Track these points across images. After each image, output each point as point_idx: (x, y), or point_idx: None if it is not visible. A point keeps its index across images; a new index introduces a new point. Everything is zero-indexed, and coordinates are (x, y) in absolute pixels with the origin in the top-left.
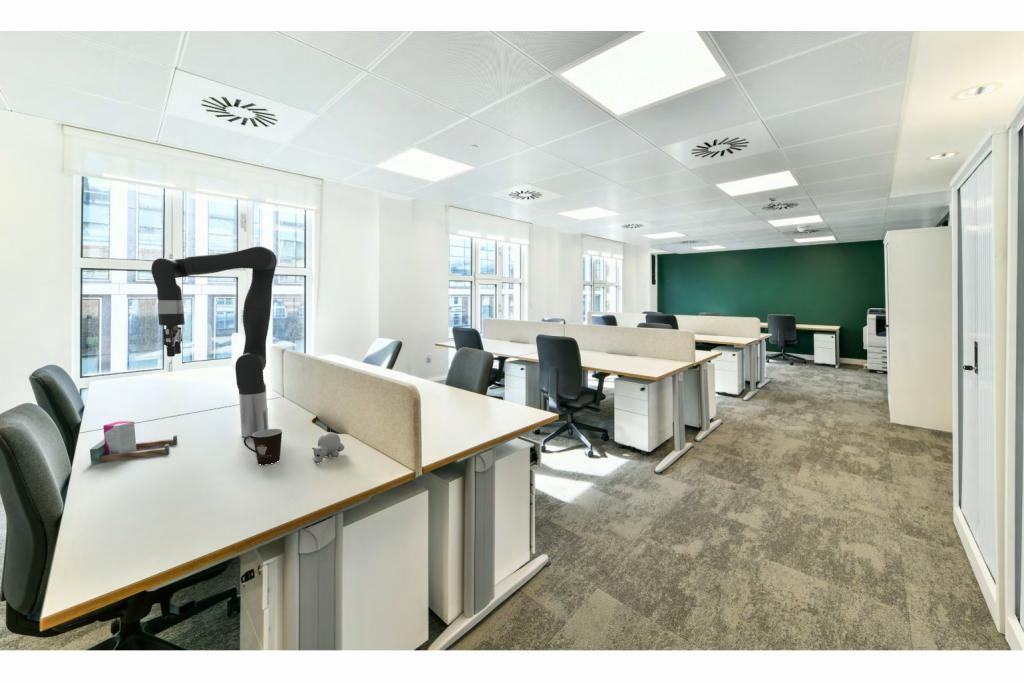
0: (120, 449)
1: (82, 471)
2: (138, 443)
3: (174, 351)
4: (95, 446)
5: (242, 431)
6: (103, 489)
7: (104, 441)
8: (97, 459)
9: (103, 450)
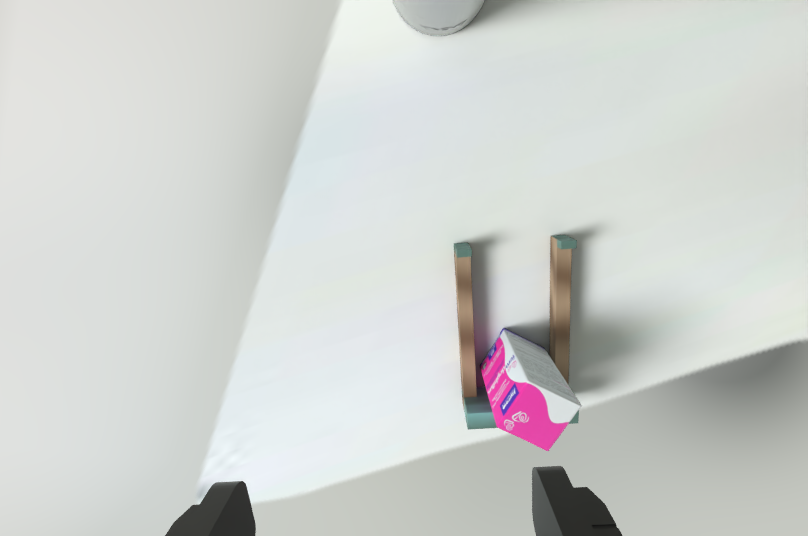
0: (551, 359)
1: (614, 392)
2: (468, 342)
3: (579, 519)
4: None
5: (468, 18)
6: (797, 294)
7: None
8: None
9: None
